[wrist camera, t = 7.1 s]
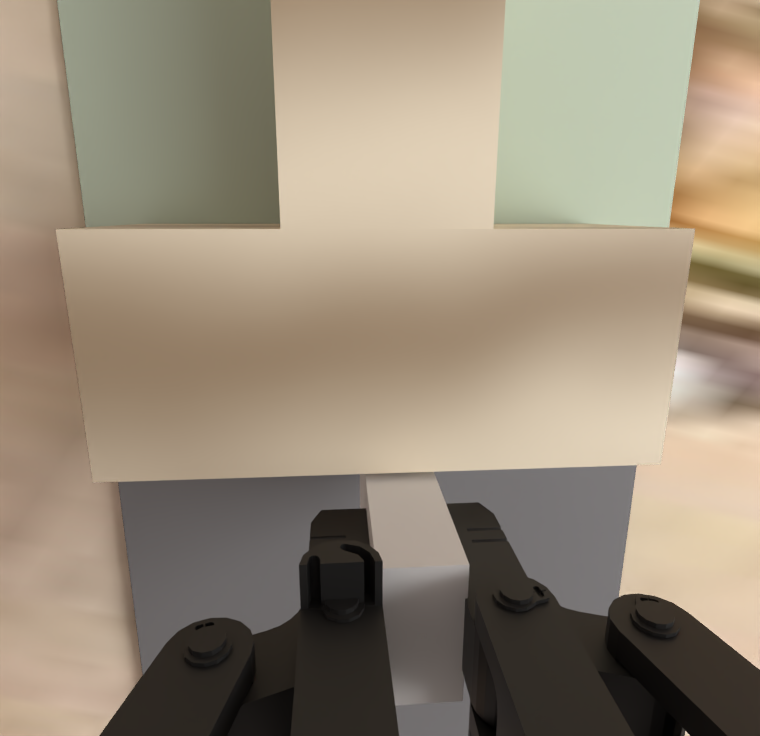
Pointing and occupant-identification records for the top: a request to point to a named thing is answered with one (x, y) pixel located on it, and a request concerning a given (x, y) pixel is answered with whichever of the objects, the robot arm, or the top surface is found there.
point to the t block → (375, 287)
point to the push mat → (261, 206)
